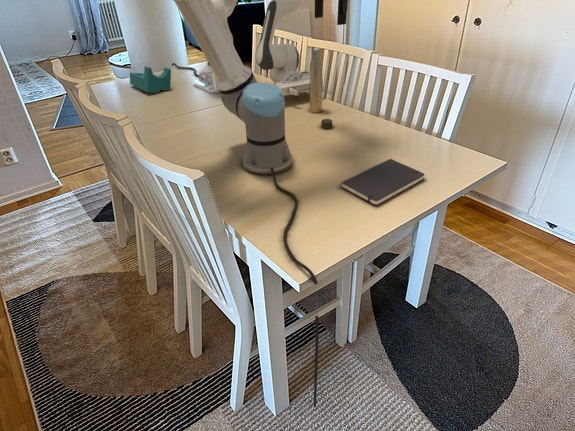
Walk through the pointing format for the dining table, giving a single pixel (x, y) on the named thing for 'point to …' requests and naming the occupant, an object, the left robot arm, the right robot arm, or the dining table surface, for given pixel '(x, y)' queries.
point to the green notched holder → (151, 80)
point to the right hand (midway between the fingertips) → (329, 21)
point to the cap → (326, 123)
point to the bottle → (316, 82)
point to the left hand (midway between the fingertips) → (308, 91)
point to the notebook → (382, 181)
